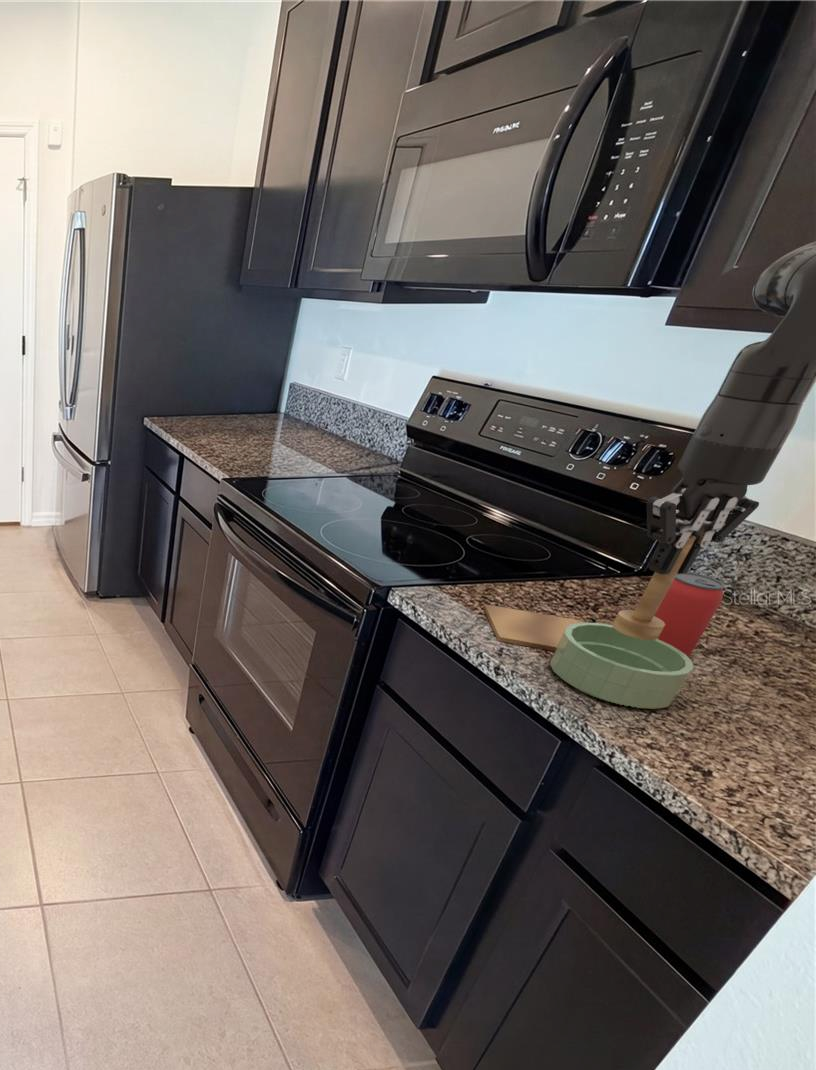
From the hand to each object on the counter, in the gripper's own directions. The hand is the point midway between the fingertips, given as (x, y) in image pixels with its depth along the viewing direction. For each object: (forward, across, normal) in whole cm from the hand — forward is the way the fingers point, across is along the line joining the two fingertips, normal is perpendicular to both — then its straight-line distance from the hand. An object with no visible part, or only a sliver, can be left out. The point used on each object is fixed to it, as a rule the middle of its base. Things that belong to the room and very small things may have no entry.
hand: (666, 570), depth 84 cm
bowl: (+18, 0, 0) cm, 18 cm away
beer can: (+18, +17, +8) cm, 26 cm away
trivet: (+18, +2, +14) cm, 22 cm away
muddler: (+9, 0, 0) cm, 9 cm away
